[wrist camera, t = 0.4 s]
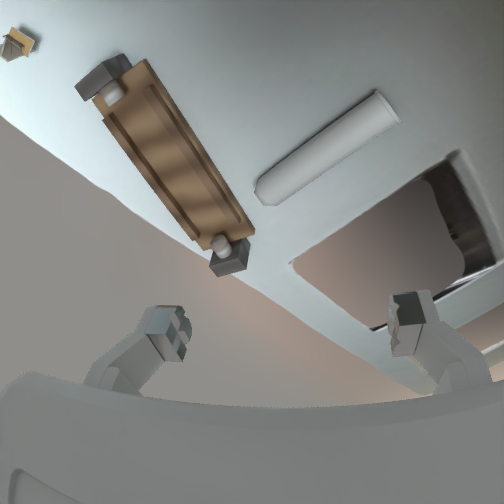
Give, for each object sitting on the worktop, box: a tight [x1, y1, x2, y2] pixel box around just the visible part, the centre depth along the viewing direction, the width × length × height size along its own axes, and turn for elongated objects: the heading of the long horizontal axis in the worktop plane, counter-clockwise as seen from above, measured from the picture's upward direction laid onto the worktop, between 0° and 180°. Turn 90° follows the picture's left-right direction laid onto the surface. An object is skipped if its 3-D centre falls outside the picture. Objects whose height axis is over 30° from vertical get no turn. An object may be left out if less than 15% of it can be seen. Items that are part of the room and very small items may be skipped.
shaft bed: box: [74, 54, 255, 277], centre depth 48 cm, size 41×11×6 cm, turn 27°
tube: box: [254, 90, 401, 206], centre depth 44 cm, size 5×5×25 cm
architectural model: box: [0, 27, 35, 62], centre depth 31 cm, size 3×7×7 cm, turn 48°
